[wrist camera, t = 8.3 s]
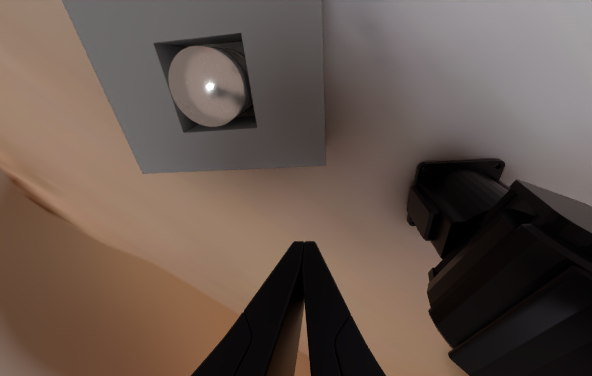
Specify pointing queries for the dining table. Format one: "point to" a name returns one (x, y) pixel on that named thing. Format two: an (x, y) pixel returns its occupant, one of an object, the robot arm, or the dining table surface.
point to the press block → (200, 31)
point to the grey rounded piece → (210, 84)
